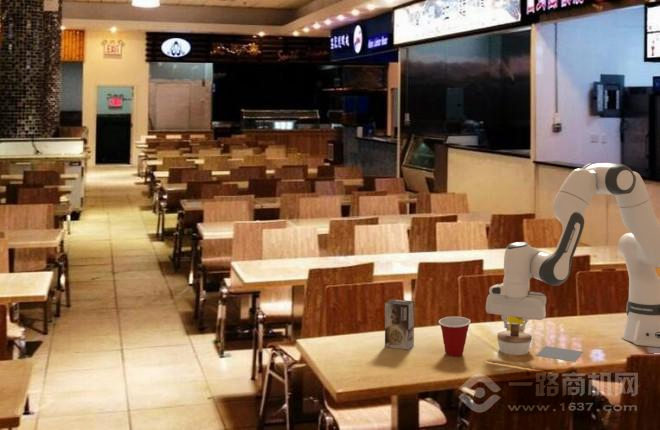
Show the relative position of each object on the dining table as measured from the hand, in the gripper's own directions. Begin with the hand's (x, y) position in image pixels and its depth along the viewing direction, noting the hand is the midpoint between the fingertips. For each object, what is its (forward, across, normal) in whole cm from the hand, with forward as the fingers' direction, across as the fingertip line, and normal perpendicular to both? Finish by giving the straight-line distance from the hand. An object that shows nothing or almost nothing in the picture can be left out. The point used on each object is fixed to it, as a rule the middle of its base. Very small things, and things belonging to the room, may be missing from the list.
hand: (514, 329), depth 264 cm
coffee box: (+8, +37, +14) cm, 40 cm away
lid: (+3, 0, 0) cm, 3 cm away
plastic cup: (+8, +17, +13) cm, 23 cm away
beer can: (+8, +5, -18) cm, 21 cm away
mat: (+8, -14, -5) cm, 17 cm away
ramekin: (+9, 0, 0) cm, 9 cm away
